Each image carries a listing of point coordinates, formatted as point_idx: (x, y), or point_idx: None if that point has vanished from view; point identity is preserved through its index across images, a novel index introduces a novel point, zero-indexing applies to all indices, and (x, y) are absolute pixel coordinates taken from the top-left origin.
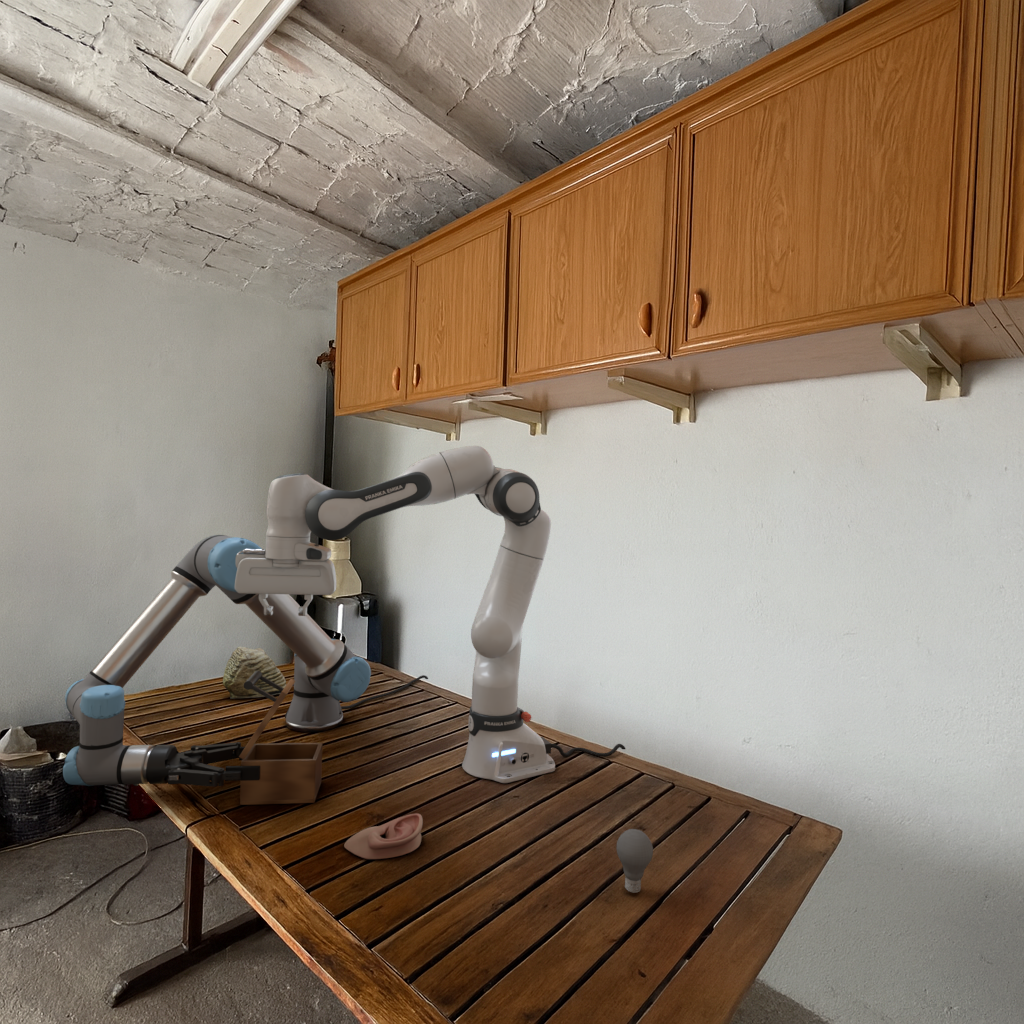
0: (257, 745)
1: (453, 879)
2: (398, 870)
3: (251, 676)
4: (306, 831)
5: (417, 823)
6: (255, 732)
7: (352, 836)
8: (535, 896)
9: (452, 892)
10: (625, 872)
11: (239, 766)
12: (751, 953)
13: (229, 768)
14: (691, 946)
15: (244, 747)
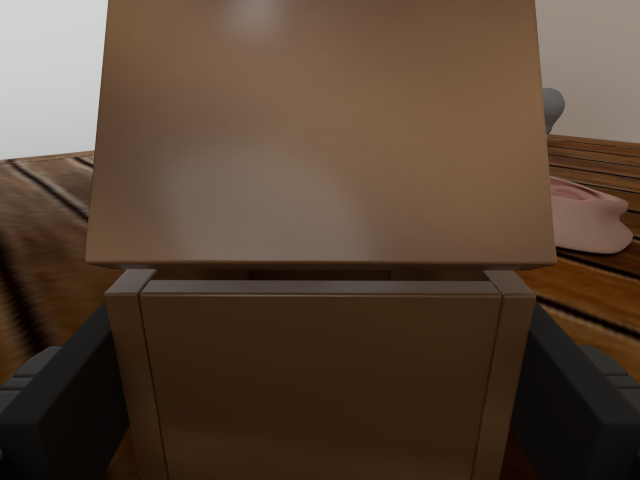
0: (156, 276)
1: (603, 192)
2: (626, 217)
3: None
4: (582, 308)
5: None
6: (532, 1)
7: (575, 240)
8: (588, 168)
9: (636, 193)
10: (548, 128)
11: (549, 335)
12: (584, 138)
13: (619, 398)
14: (597, 144)
15: (52, 384)
